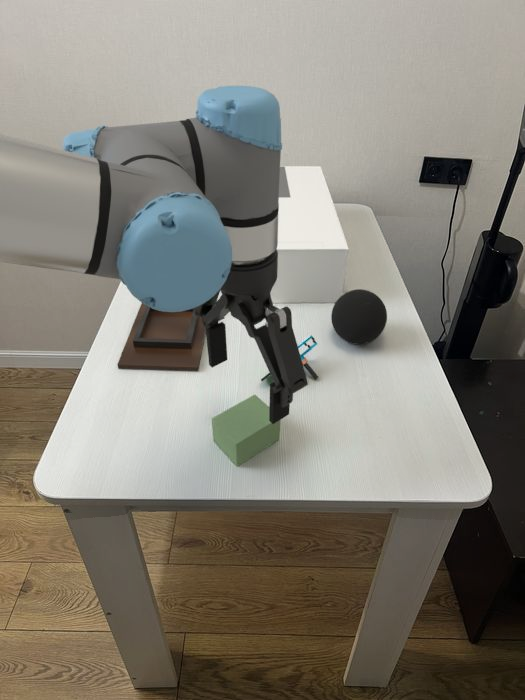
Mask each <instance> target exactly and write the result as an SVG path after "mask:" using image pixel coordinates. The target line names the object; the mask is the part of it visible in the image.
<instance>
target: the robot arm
mask: <svg viewBox="0 0 525 700" xmlns="http://www.w3.org/2000/svg"><path fill="white" fill-rule="evenodd" d="M196 105H197V109H196V111H195V117H191V118H190V117H189V118H186V119H181V120H173V121H163V122H151V123H141V124H131V125H119V126H106V125H100V126H98V127H96V128H91V129H86V130H81V131H75V132H70V133H69V134H67V135H66V136H65V137H64V139H63V141H62V149H60V148H57V147H52V146H48V145H45V144H41V143H37V142H32V141H29V140H23V139H21V138H16V137H13V136H8V135H4V134H1V133H0V263H5V264H12V265H20V266H26V267H27V266H28V267H35V268H41V269H50V270H56V271H65V272H71V273H79V274H85V275H92V276H96V277H100V278H109V279H116V280H120V281H121V282H122V284H123V285H124V286H126V289H127V290H128V291H129V293H130V294H131V295H132V296H133V297H134V298H135V299H136V300H138V301H139V302H140V303H141V304H142V303H143V304H145V305H147V306H149V307H151V308H152V309H155V310H159V311H163V312H180V311H186V310H189V309H192V308H194V314H195V315H196V316H197V317H199V316H201V318H202V324H203V326H204V327H205V330H206V334H205V340H206V347H207V357H208V365H209V367H210V368H215V367H217V366H218V365H220V364H222V363H224V362H227V361H228V345H227V332H226V331H227V328H226V323H224V322H223V321H222V320H225V319H226V316H227V315H228V314H229V313H230V316H232V317H233V318H234V319H236V320H238V321H239V322H240V323H241V324H242V325H243V326H244V327H245V330H246V332H247V334H248V336H249V338H251V339H254V341H255V343H256V345H257V348H258V350H259V352H260V354H261V356H262V358H263V361H264V363H265V366H266V368H267V370H268V373H270V374H271V375H270V377H271V379H272V381H273V382H271V383H270V384H269V407H270V409H269V421H270V422H271V423H272V424H274V423H276V422H278V421H279V420H280V421H281V420H283V419H284V418H286V417H287V416H289V415H290V406H291V404H292V402H293V401H294V394H295V393H297V392H299V391H300V390H301V389H304V388H305V387H307V386H308V384H309V382H308V379H307V374H306V371H305V367H304V366H303V364H302V360H301V357H300V355H301V353H300V351H299V349H300V348H298V346H299V345H298V342H297V340H296V339H297V338H296V336H295V332H294V329H293V315H292V310H291V308H290V307H289V306H284V307H281V308H279V307H277V306H275V305H274V303H272V299H271V295H270V292H271V290H272V288H273V286H274V284H275V282H276V280H277V268H278V252H277V245H278V211H279V204H278V200H279V178H280V166H281V157H282V153H281V152H282V150H283V143H282V118H281V108H280V103H279V100H278V98H277V97H276V95H275V94H273V93H272V92H270V91H268V90H267V89H266V88H265V89H264V88H261V87H257V86H253V85H252V86H251V85H224V86H223V85H221V86H218V87H216V88H208V89H206V90H203V91H202V92H201V93H200V94H199V96H198V97H197V103H196ZM220 293H221V295H220ZM264 320H265V323H264V324H263V325H261V326H259V327H257V328H256V327H255V325H258V324H260V323H261V322H263V321H264ZM220 321H221V322H220ZM281 377H282V378H281Z"/></svg>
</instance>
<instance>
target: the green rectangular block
mask: <svg viewBox="0 0 525 700" xmlns="http://www.w3.org/2000/svg"><path fill="white" fill-rule="evenodd" d="M269 409H270V406H269V405H268V404H267V403H265V402H264V401H263V400H262V399H261V398H260V397H259V396H258V395H256V394H253V395H251V396H249V397H247V398H245V399H244V400H242V401H240V402H239V403H237V404H235V405H233V406H232V407H229V408H228V409H226V410H225V411H222V412H221V413H219V414H217V415H215V416H214V417H212V418H211V426H212V427H211V429H212V441H213V442H214V443H215V445H216V446H217V447H218V448H219V449H220V450H221V452H223V453H224V454H225V455H226V456H227V458H228V459H229V460H230V461H231V462H232V463H233V464H234V465H235V466H236V467H239V466H240V465H242V464H244V463H245V462H247V461H248V460H249V459H252V458H253V457H254V456H256V455H257V454H259V453H261V452H262V451H263V450H265V449H267V448H268V447H270V446H272V445H273V444H275V443H276V442H278V441H280V436H281V433H280V431H281V420H279V421H278V422H276V423H274V424H272V423H271V422H270V421H269Z"/></svg>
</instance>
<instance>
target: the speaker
mask: <svg viewBox="0 0 525 700" xmlns="http://www.w3.org/2000/svg"><path fill="white" fill-rule="evenodd" d="M333 304H334V305H333V307H332V309H331V314H330V315H331V317H330V319H331V324H332V327H333V330H334V332H335V333H336V334H337V336H338V337H340V339H342V340H343V341H345V342H347V343H349V344H353V345H365V344H368V343H371V342H373V341H375V340H376V339H377V338H379V337H380V336H381V335H382V333H383V332H384V331H385V328H386V325H387V322H388V312H387V307H386V305H385V303H384V302H383V301H382V299H381V297H379V296H378V295H377V294H376V293H374V292H372V291H370V290H368V289H367V290H366V289H352V290H349V291H347V292H345V293H344V294H342V296H341V297H340V298H339V299H338V300H337V301H336V302H334V303H333Z"/></svg>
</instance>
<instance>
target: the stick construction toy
mask: <svg viewBox="0 0 525 700" xmlns="http://www.w3.org/2000/svg"><path fill="white" fill-rule="evenodd" d="M310 340H312V343H313V344H312V345H310V344H308V343H307V342H308V341H310ZM303 345H304V346H305V347H307V349H305V351H303V352H302V353H300V357H301V360H302V364H303V367H304V369H305V370H307V372H308V373H309V374H310V375H311V377H312V378H313V379H314V380H315V381H316V380H317V379H319V375H318V374H317V373H316V372H315V371H314V369H313V368H312V367H311V366H310V364H309V363H308V362H309V360H308V359H307V357H305V355H307V354H308V353H309V352H311V351H312V350H313V349H314V348H315V347H316V346H317V345H318V343H317V341H316V339H315V337H313V335H309V337H307V338H306V339H305V340H303V341H302V342H301V343H299V345H297V346H298V349H300V348H301V347H302V346H303ZM268 377H271V374H270V372H268V373H267V374H265V375H264V376H263V377H262V378H261V379H260V381H261V382H263V381H265V380H266V379H268ZM281 378H282V377H281Z"/></svg>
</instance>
